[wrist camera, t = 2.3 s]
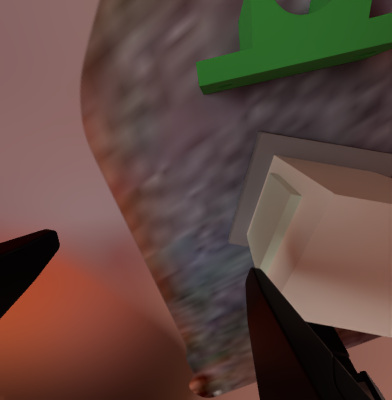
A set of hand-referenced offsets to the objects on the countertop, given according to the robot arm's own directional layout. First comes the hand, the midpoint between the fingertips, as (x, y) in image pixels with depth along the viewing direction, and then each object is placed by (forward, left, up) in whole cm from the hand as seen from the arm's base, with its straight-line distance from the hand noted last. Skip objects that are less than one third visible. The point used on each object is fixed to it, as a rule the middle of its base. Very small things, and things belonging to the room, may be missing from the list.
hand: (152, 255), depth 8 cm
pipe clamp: (+11, -5, -10) cm, 16 cm away
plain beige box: (0, -11, -10) cm, 15 cm away
